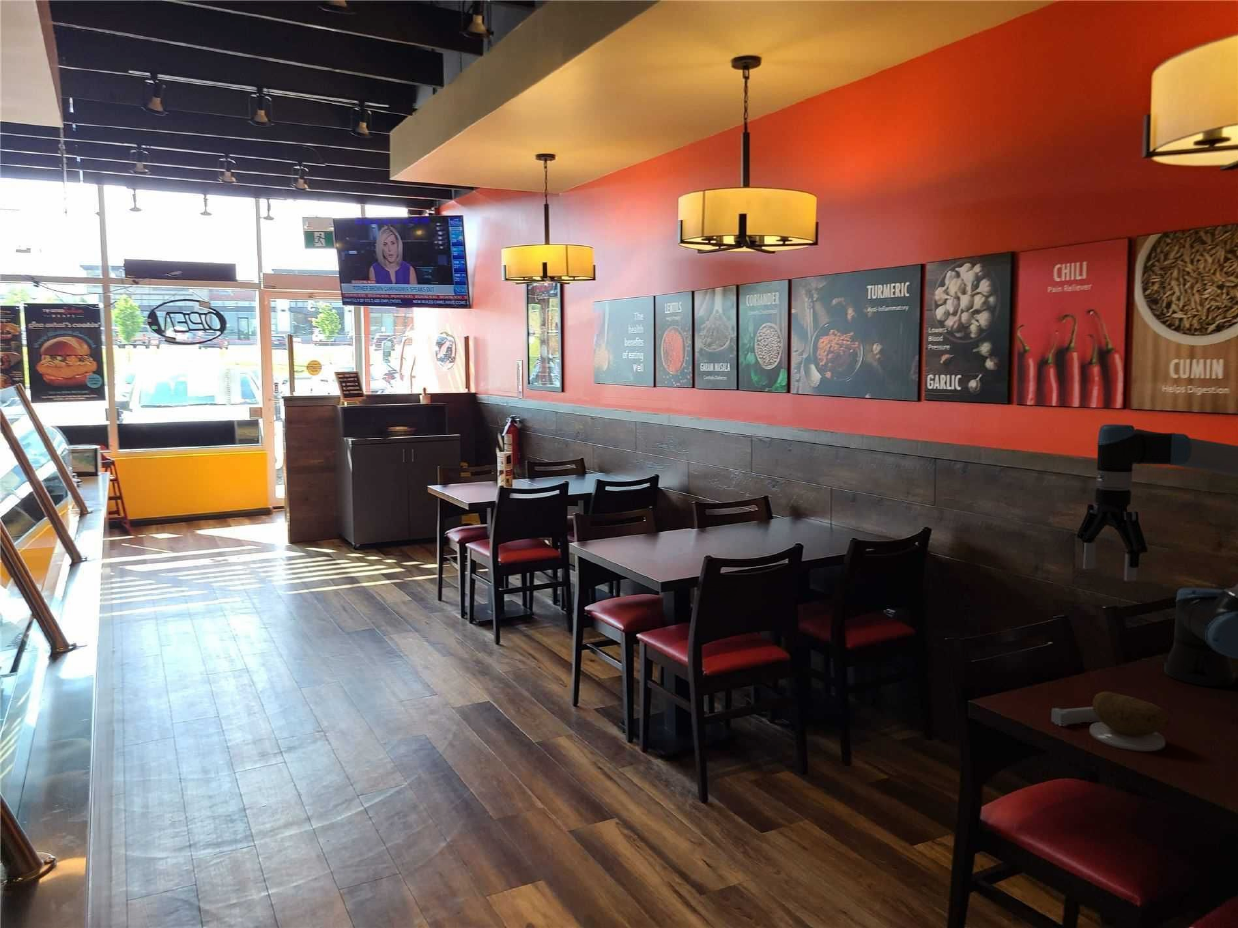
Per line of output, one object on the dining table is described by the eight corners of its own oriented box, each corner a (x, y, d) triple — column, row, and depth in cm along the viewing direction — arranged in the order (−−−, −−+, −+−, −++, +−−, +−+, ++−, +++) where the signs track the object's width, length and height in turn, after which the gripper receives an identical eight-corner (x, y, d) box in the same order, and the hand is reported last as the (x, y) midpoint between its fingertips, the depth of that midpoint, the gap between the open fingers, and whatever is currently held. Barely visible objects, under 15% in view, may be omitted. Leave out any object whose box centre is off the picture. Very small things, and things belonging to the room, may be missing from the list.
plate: (1129, 722, 195) (1130, 717, 195) (1181, 748, 181) (1181, 743, 181) (1074, 727, 192) (1075, 722, 192) (1123, 754, 178) (1123, 749, 178)
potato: (1158, 749, 178) (1160, 712, 177) (1084, 729, 188) (1086, 694, 187) (1172, 736, 185) (1174, 699, 184) (1100, 717, 195) (1102, 683, 194)
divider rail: (1142, 713, 200) (1142, 700, 200) (1152, 718, 197) (1153, 705, 197) (1051, 721, 195) (1051, 708, 195) (1060, 726, 193) (1061, 713, 192)
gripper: (1064, 482, 223) (1060, 564, 225) (1140, 495, 199) (1135, 586, 201) (1089, 481, 224) (1085, 562, 226) (1168, 494, 200) (1163, 585, 202)
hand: (1108, 574), depth 214 cm, fingers open, 13 cm apart
